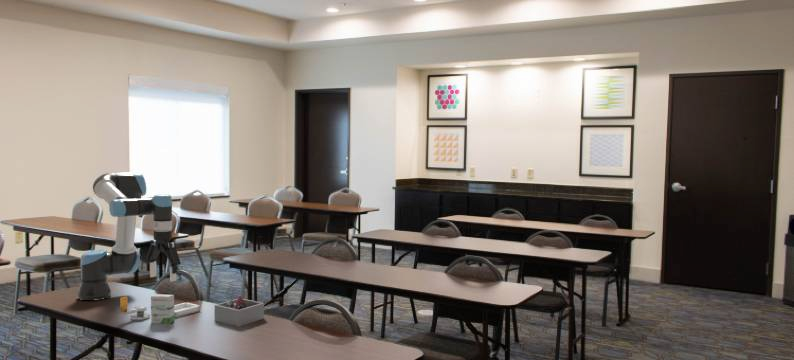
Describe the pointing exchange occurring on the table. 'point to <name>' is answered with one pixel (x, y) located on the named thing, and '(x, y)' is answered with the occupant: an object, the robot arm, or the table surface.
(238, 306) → the brake caliper
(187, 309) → the tray
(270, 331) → the table surface
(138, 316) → the crank base
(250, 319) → the parts crate
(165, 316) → the ink box
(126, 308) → the crank
